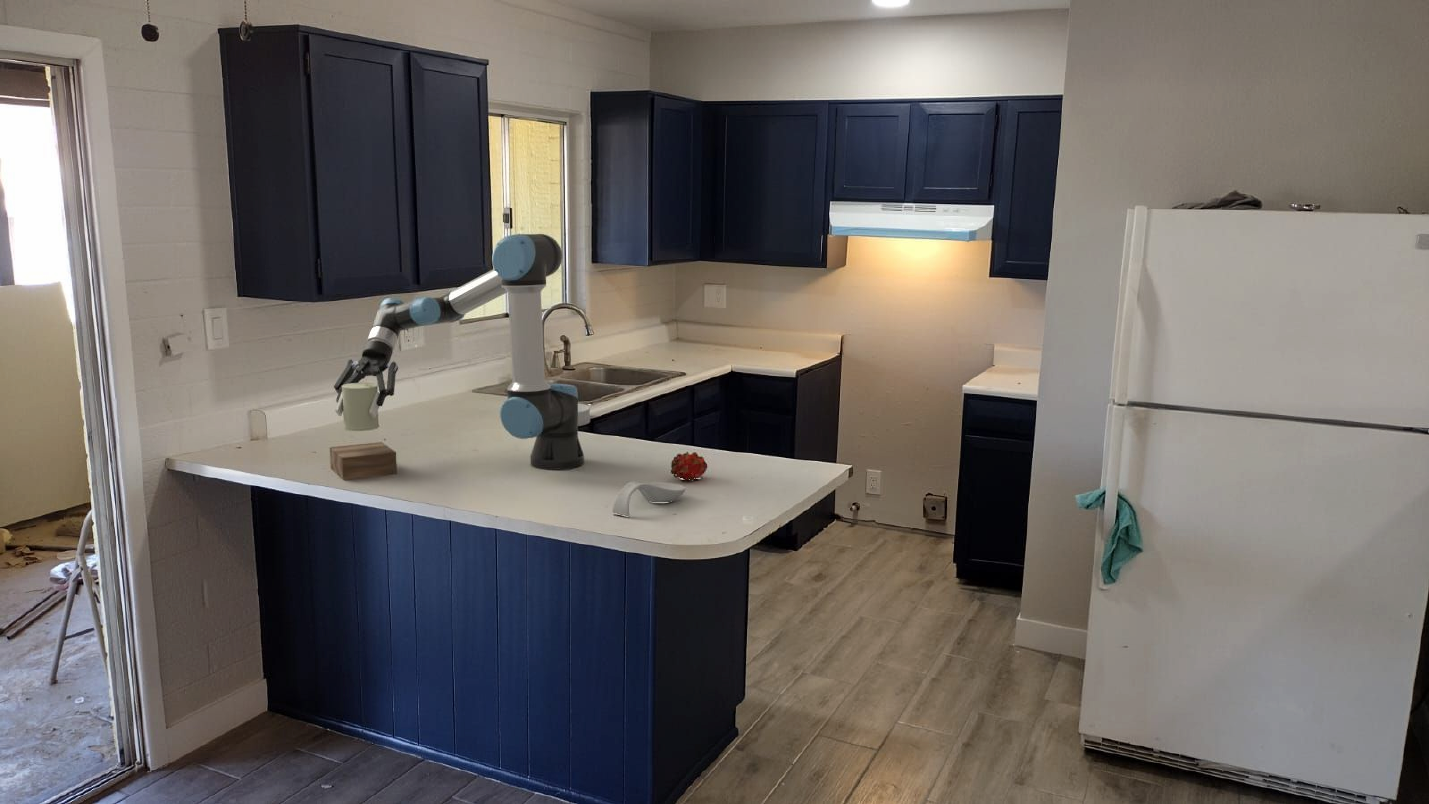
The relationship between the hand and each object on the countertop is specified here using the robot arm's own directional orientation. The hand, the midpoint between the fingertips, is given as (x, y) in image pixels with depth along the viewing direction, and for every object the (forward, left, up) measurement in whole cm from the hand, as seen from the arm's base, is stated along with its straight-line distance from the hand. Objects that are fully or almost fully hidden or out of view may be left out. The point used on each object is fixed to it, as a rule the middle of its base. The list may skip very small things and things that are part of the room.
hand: (355, 414), depth 272 cm
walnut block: (+2, -2, -16) cm, 17 cm away
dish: (+41, -77, -17) cm, 89 cm away
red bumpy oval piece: (-47, -76, -17) cm, 91 cm away
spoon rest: (-63, -54, -17) cm, 85 cm away
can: (+3, -2, -4) cm, 6 cm away
